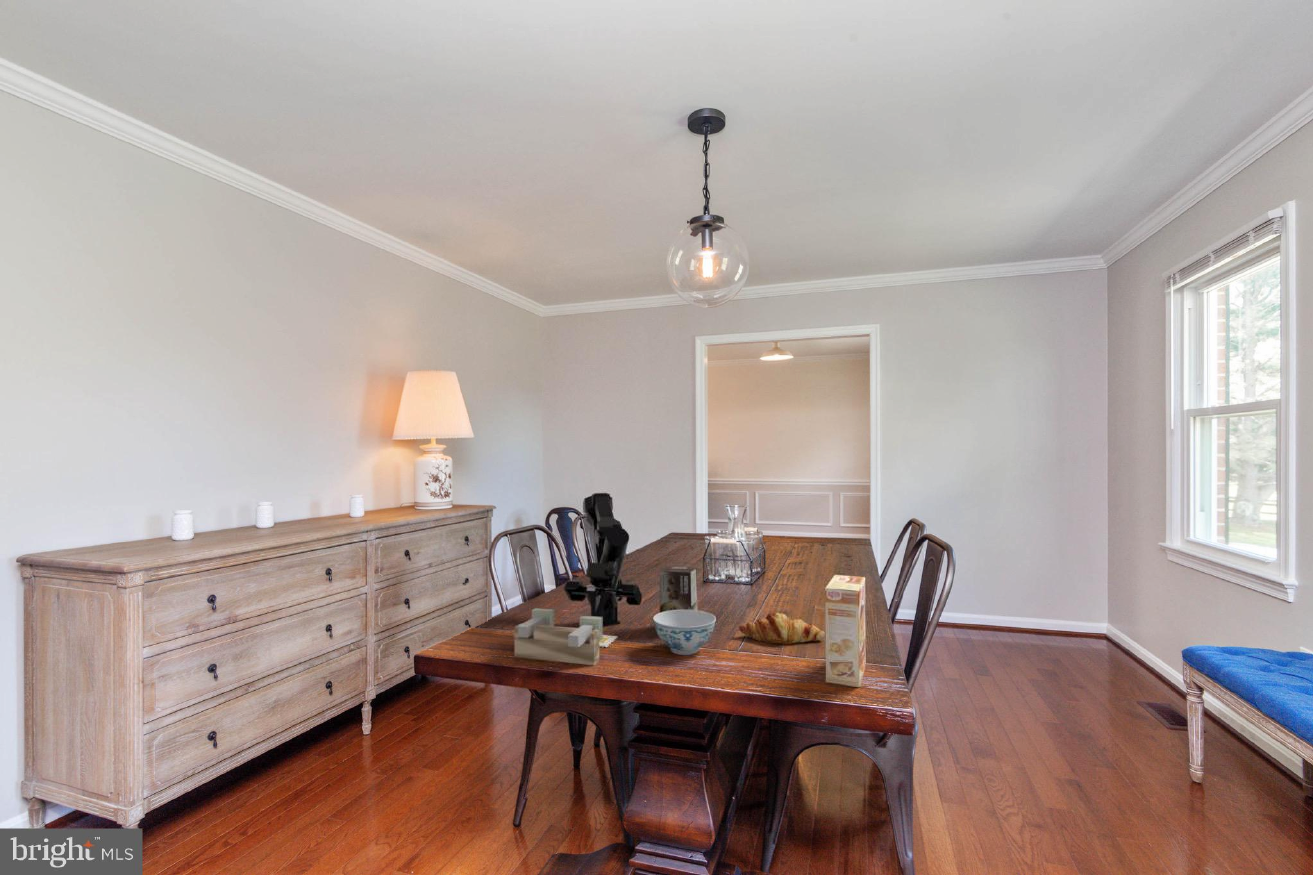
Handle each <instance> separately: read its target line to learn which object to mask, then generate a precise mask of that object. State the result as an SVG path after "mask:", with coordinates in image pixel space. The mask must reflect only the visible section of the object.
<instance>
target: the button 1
mask: <svg viewBox="0 0 1313 875" xmlns="http://www.w3.org/2000/svg"><path fill="white" fill-rule="evenodd" d="M520 624H521V623H520ZM539 625H545V626H555V609H552V608H550V609H548V608H537V607H535V608H533V609H532V610H531V618H530V619H528V620H527V621H525V622H523V623H522V624H521V625H520V626H518V637H525V638H528V637H529V636H531V635H534V628H536V627H537V626H539Z"/></svg>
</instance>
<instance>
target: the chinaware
mask: <svg viewBox="0 0 1313 875" xmlns="http://www.w3.org/2000/svg"><path fill="white" fill-rule="evenodd" d="M697 610H698V609H697ZM697 610H671V611H665V612H661V613H660V612H659V613H657V614H655V615H654V616H653V618H652V620H653V621H652V622H653V625H654V628H655V632H656V634H657V636H658V637H659V639H660V640H661V642H663V643H664V644H665V645H666V646H667V647H669V648H670V651H671V652H672V653H673V654H675V655H682V656H686V655H688V656H689V655H694V654H696V653H699V650H700V649H699V648H701V647H702V646H703V645H705V644H706V643H707V642H708V641H709V640H710V638H711V636H712V635H713V632H714V629H715V626H716V622H717V618H716V616H715V615H714V614H712V613H710V612H707V611H702V610H698V611H697Z"/></svg>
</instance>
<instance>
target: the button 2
mask: <svg viewBox="0 0 1313 875" xmlns="http://www.w3.org/2000/svg"><path fill="white" fill-rule="evenodd" d="M578 620H579V627H577V628H578V629H576V630H575V631H573V632H572V633H571V634H569V635H568V646H572V647H579V646H580V645H582V644H583V643H584V642H586V641H587V640H590V633H591V632H593V631H594V630H599V641H600V640H602V639H603V635H604V629H603V628H604V626H603V617H596V616H591V615H581V616H580V617H579V619H578Z"/></svg>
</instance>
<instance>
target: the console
mask: <svg viewBox="0 0 1313 875" xmlns="http://www.w3.org/2000/svg"><path fill="white" fill-rule="evenodd" d="M521 624H523V623H519V624H517V625H515V626H514V629H513V630H514V635H513V636H514V658H519V659H529V660H530V659H531V660H538V661H539V660H540V661H547V662H548V661H549V662H559V663H569V664H579V665H589V666H595V665H596V664H598V663H599V662H600V647H599V630H594V631H593V632H591V633H590V640H587V641H586V642H584V643H583V644H582V645H580V646H579V647H572V646H568V635H569V634H571V633H572V632H573V631H575V630H576V629H578V628H579V627H568V626H557V625H556V626H555V625H554V626H545V625H539V626H537V627H536V628H534V634H533V635H531V636H529V637H528V638H525V637H518V626H520V625H521Z"/></svg>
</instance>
